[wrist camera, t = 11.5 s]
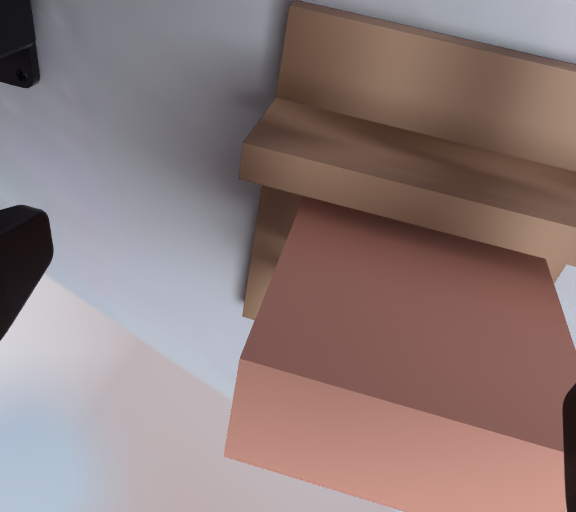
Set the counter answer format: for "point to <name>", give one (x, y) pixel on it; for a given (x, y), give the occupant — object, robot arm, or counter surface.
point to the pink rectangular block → (406, 368)
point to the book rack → (414, 138)
